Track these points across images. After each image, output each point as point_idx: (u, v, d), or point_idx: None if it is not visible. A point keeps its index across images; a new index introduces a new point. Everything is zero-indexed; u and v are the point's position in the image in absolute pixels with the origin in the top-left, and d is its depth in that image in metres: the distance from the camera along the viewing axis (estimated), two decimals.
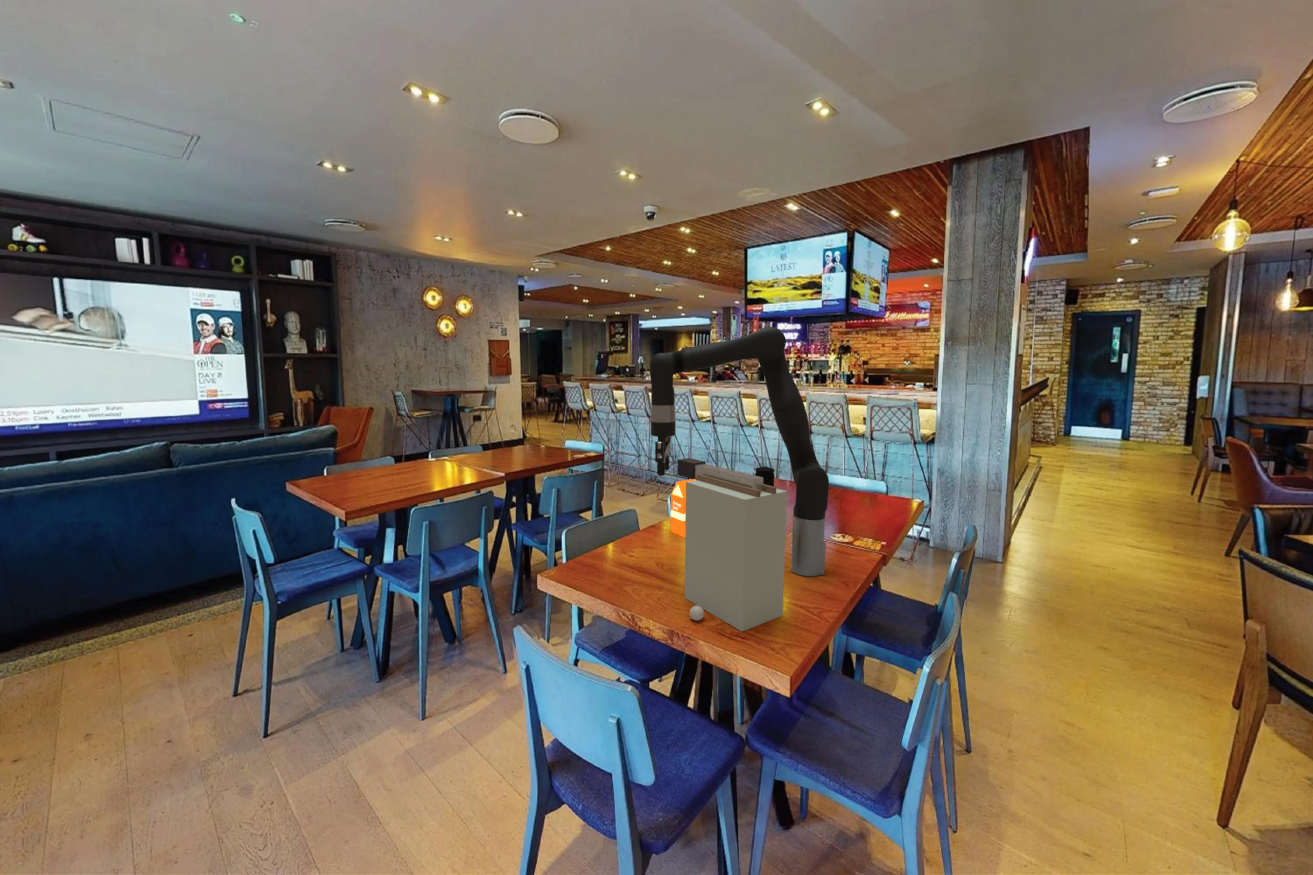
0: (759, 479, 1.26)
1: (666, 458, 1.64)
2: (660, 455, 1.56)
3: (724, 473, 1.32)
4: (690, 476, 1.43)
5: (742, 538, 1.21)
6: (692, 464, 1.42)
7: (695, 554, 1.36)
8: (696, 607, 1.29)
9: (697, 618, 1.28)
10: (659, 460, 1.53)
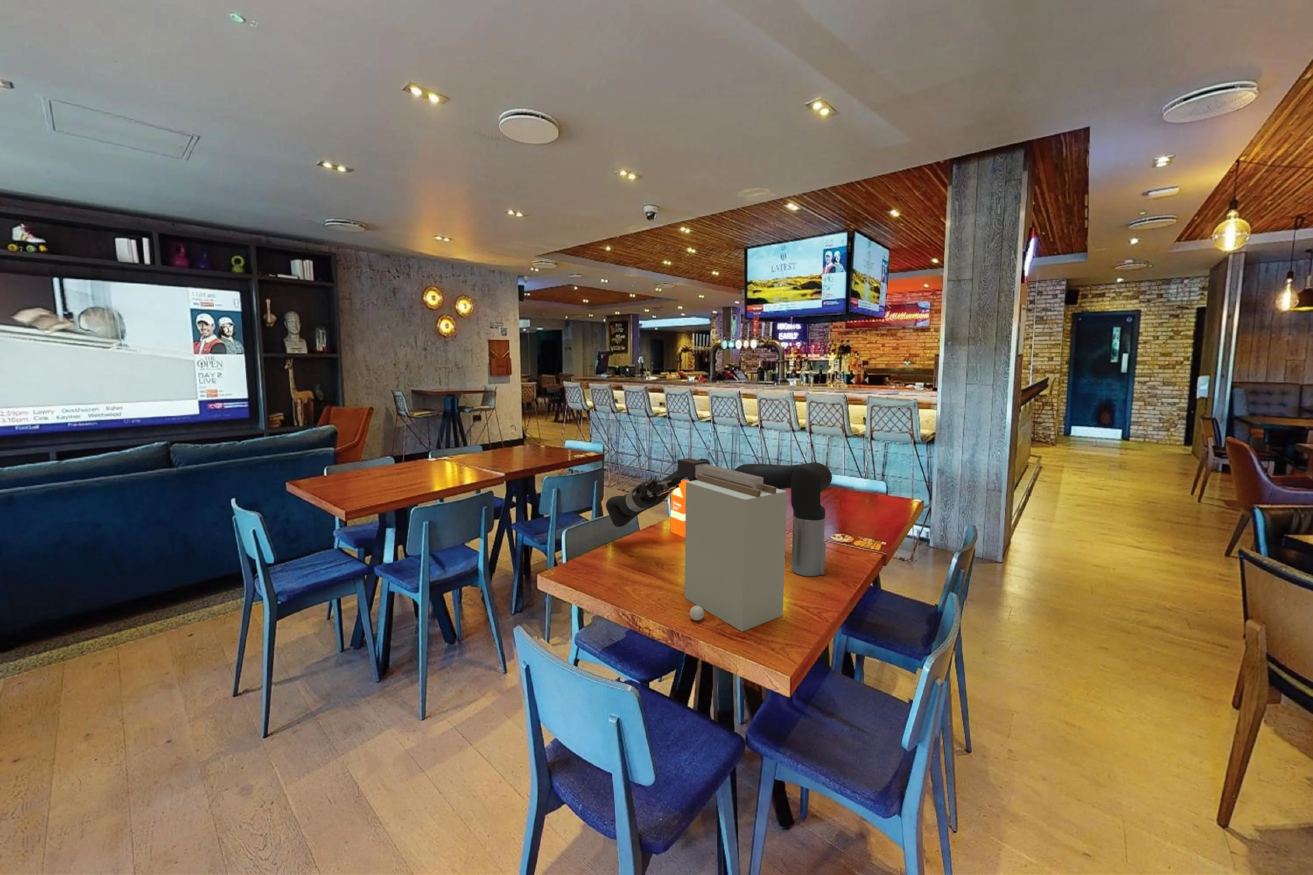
0: (759, 479, 1.26)
1: (672, 482, 1.61)
2: None
3: (724, 473, 1.32)
4: (690, 476, 1.43)
5: (742, 538, 1.21)
6: (692, 464, 1.42)
7: (695, 554, 1.36)
8: (696, 607, 1.29)
9: (697, 618, 1.28)
10: (639, 489, 1.55)
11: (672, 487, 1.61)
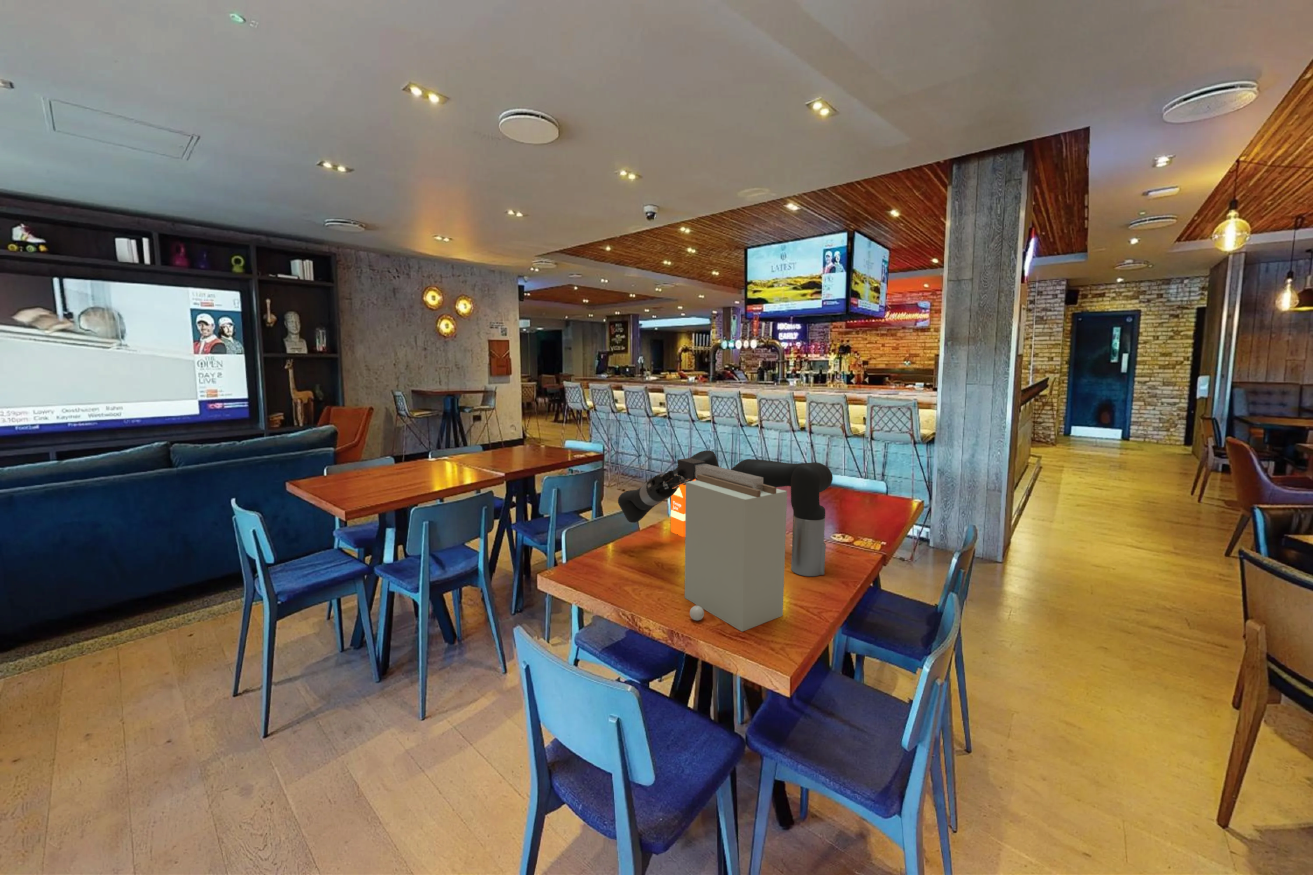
0: (759, 479, 1.26)
1: None
2: None
3: (724, 473, 1.32)
4: (690, 476, 1.43)
5: (742, 538, 1.21)
6: (692, 464, 1.42)
7: (695, 554, 1.36)
8: (696, 607, 1.29)
9: (697, 618, 1.28)
10: (655, 480, 1.49)
11: (688, 479, 1.54)
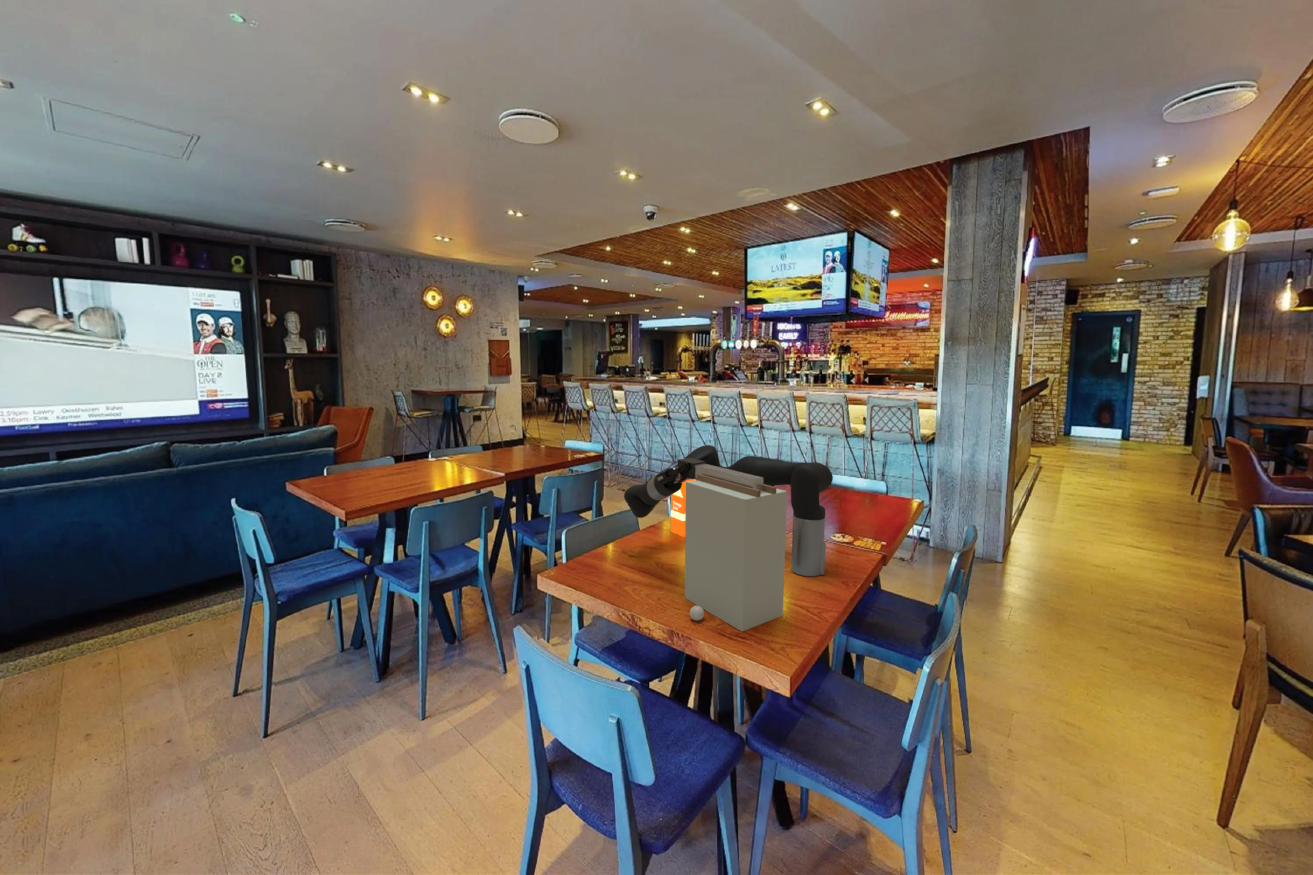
0: (759, 479, 1.26)
1: None
2: None
3: (724, 473, 1.32)
4: (690, 476, 1.43)
5: (742, 538, 1.21)
6: (692, 464, 1.42)
7: (695, 554, 1.36)
8: (696, 607, 1.29)
9: (697, 618, 1.28)
10: (670, 472, 1.45)
11: None
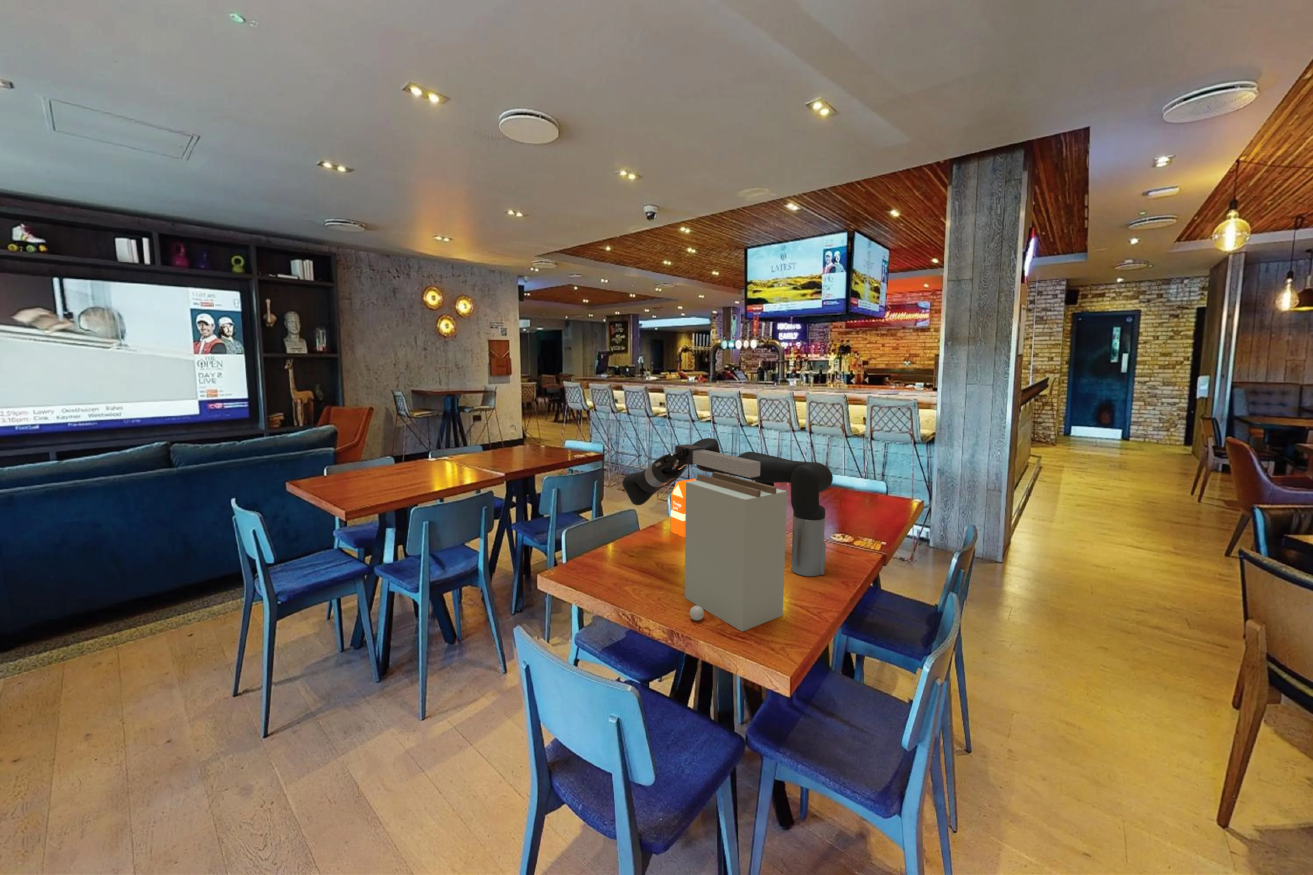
0: (756, 463, 1.26)
1: None
2: None
3: (721, 458, 1.33)
4: (688, 462, 1.43)
5: (742, 538, 1.21)
6: (690, 450, 1.42)
7: (695, 554, 1.36)
8: (696, 607, 1.29)
9: (697, 618, 1.28)
10: (668, 458, 1.46)
11: None
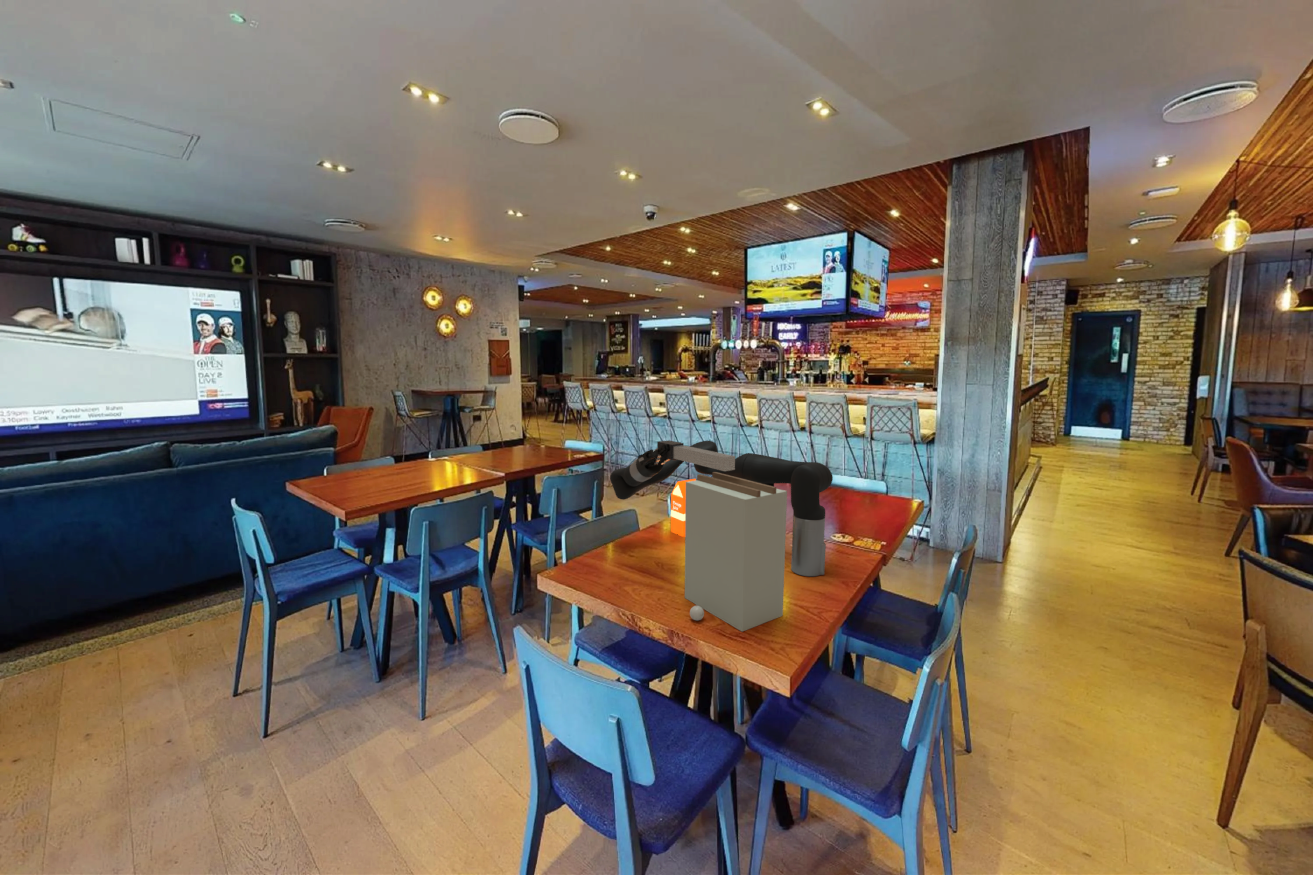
0: (731, 457, 1.33)
1: None
2: None
3: (699, 453, 1.40)
4: (669, 457, 1.51)
5: (742, 538, 1.21)
6: (670, 445, 1.50)
7: (695, 554, 1.36)
8: (696, 607, 1.29)
9: (697, 618, 1.28)
10: (650, 454, 1.53)
11: None
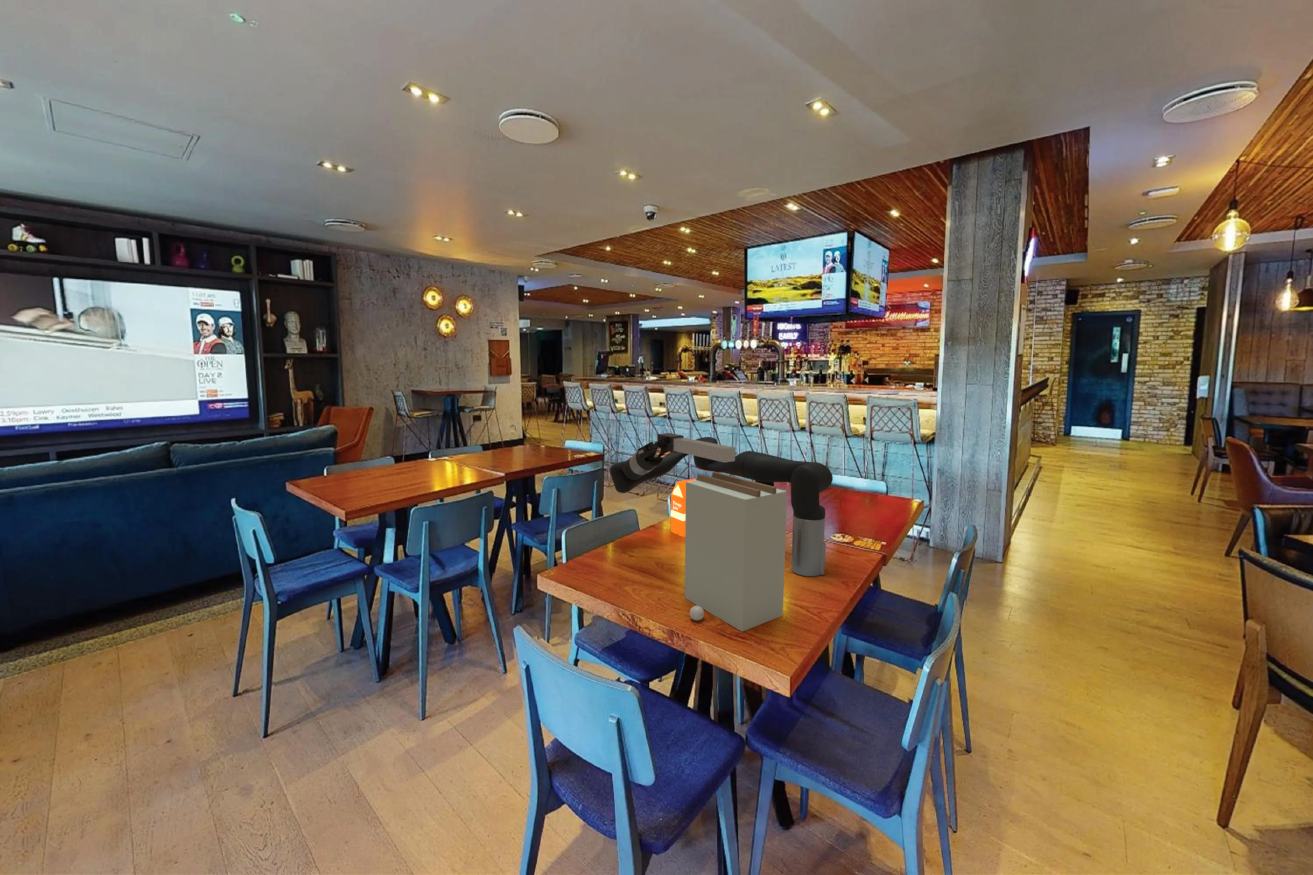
0: (731, 449, 1.33)
1: None
2: (656, 447, 1.55)
3: (699, 444, 1.40)
4: (669, 449, 1.50)
5: (742, 538, 1.21)
6: (670, 438, 1.49)
7: (695, 554, 1.36)
8: (696, 607, 1.29)
9: (697, 618, 1.28)
10: (650, 446, 1.53)
11: None
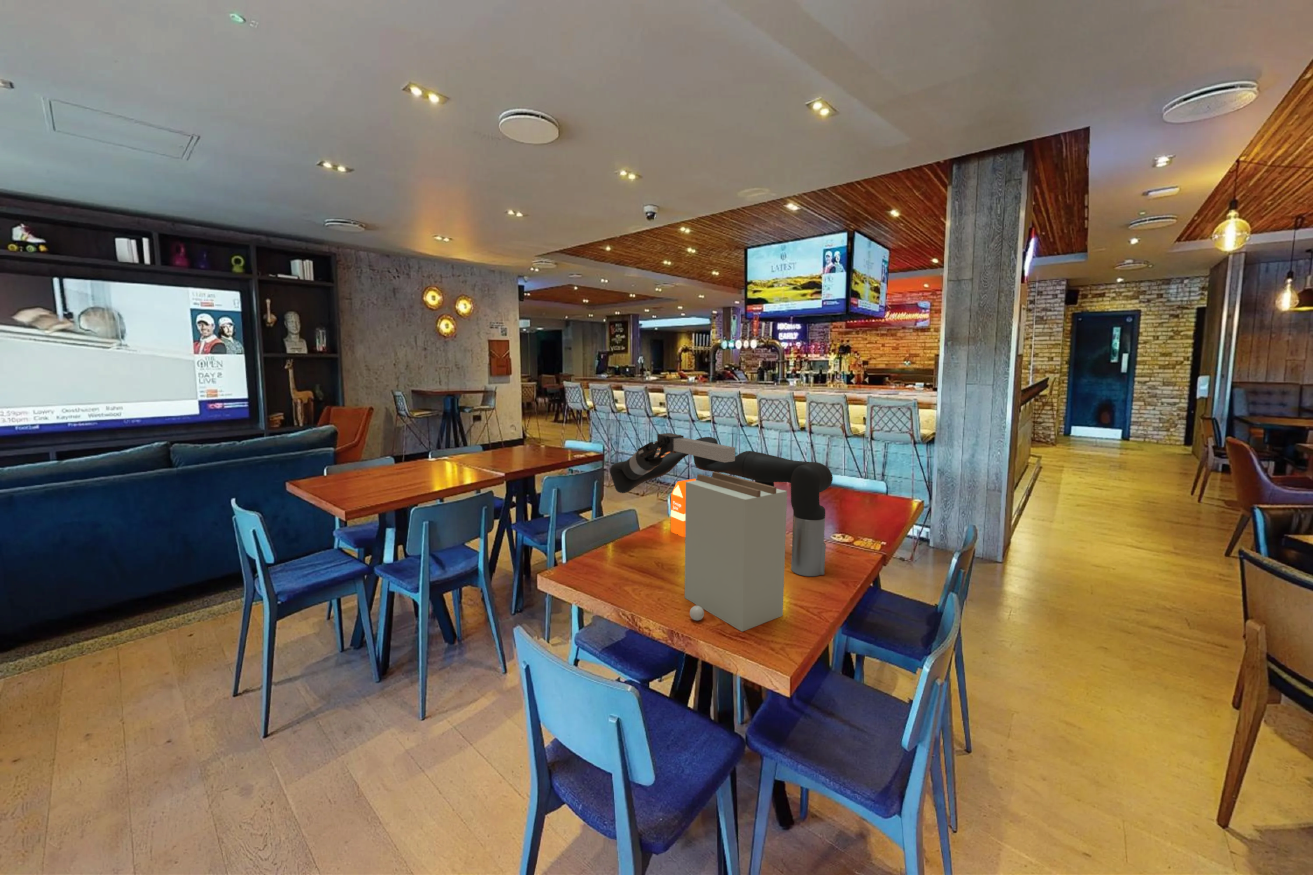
0: (731, 449, 1.33)
1: None
2: (656, 447, 1.55)
3: (699, 444, 1.40)
4: (669, 449, 1.50)
5: (742, 538, 1.21)
6: (670, 438, 1.49)
7: (695, 554, 1.36)
8: (696, 607, 1.29)
9: (697, 618, 1.28)
10: (650, 446, 1.53)
11: None
